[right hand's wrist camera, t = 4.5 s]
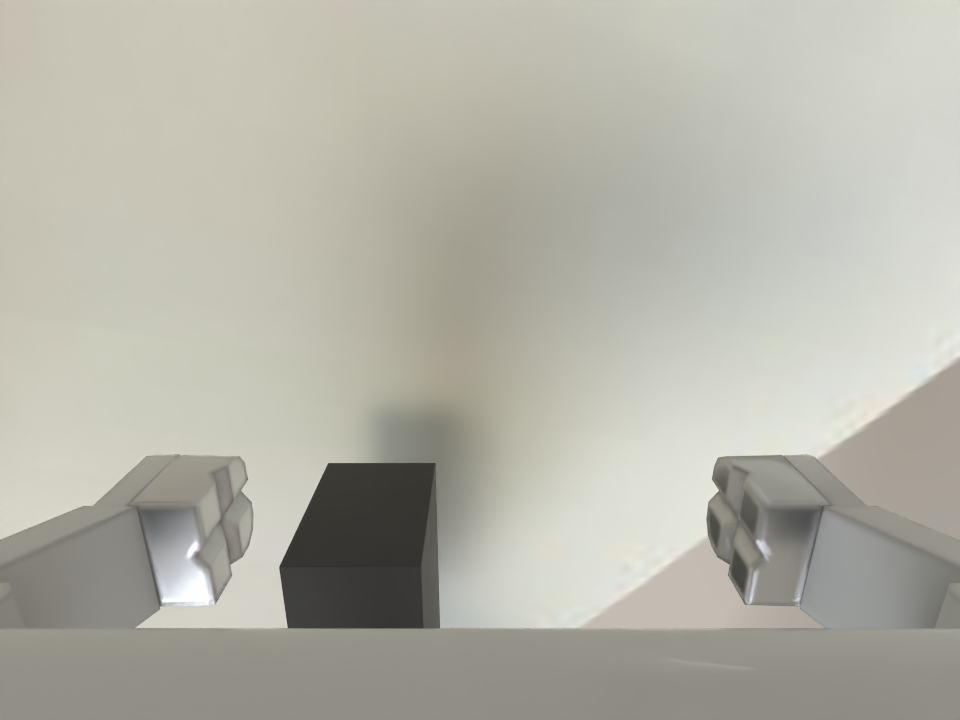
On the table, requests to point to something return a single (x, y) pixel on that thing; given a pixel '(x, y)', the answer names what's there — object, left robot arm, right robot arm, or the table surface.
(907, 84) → the table surface
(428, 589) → the box
